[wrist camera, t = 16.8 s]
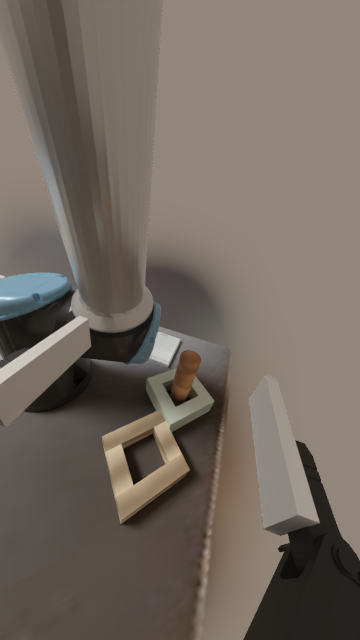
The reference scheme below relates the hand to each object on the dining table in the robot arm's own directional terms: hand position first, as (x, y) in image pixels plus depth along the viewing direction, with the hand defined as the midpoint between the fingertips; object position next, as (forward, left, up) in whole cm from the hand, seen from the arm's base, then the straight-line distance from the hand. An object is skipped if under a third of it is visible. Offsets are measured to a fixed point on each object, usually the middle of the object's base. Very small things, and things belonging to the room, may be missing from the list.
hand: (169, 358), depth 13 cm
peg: (-10, +13, -28) cm, 32 cm away
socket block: (-10, +13, -28) cm, 32 cm away
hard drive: (-26, +17, -29) cm, 42 cm away
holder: (-3, +2, -28) cm, 28 cm away
